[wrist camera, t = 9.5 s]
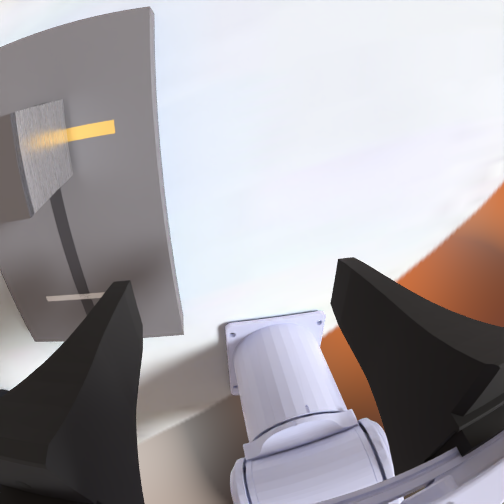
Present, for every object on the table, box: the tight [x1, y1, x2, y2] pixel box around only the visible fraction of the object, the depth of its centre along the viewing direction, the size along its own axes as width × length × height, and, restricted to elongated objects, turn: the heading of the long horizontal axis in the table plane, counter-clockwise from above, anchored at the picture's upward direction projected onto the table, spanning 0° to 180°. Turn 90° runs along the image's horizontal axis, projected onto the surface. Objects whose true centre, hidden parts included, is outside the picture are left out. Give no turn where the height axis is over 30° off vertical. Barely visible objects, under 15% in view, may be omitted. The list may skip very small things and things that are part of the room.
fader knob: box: [0, 99, 73, 224], centre depth 11 cm, size 4×3×5 cm
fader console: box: [0, 7, 184, 342], centre depth 16 cm, size 20×12×2 cm, turn 0°
